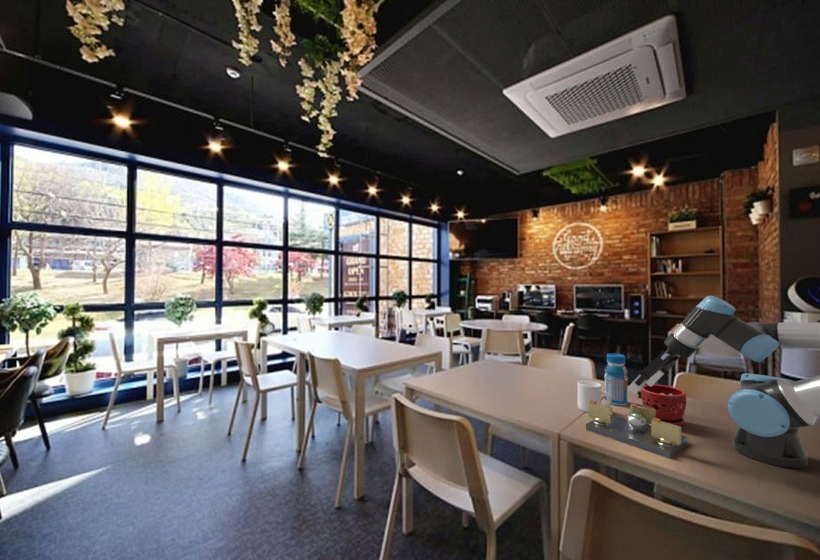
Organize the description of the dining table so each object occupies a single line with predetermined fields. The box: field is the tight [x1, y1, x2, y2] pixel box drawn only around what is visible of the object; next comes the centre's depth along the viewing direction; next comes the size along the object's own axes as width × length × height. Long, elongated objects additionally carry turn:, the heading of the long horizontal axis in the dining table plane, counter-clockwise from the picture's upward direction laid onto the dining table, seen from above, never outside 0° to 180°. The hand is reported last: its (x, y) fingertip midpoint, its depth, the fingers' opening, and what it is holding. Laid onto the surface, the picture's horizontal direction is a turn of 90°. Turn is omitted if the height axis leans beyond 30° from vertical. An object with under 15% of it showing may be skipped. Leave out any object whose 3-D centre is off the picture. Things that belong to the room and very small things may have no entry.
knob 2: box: [650, 417, 682, 445], centre depth 104 cm, size 7×3×6 cm, turn 37°
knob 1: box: [588, 401, 613, 424], centre depth 119 cm, size 7×3×6 cm, turn 37°
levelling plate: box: [585, 413, 689, 459], centre depth 113 cm, size 24×17×7 cm
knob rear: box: [629, 403, 655, 426], centre depth 117 cm, size 7×3×6 cm, turn 72°
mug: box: [577, 380, 612, 413], centre depth 135 cm, size 12×8×10 cm
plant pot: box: [640, 384, 687, 427], centre depth 125 cm, size 13×13×12 cm
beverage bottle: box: [603, 353, 629, 407], centre depth 145 cm, size 8×8×20 cm
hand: (639, 387), depth 116 cm, fingers open, 13 cm apart
